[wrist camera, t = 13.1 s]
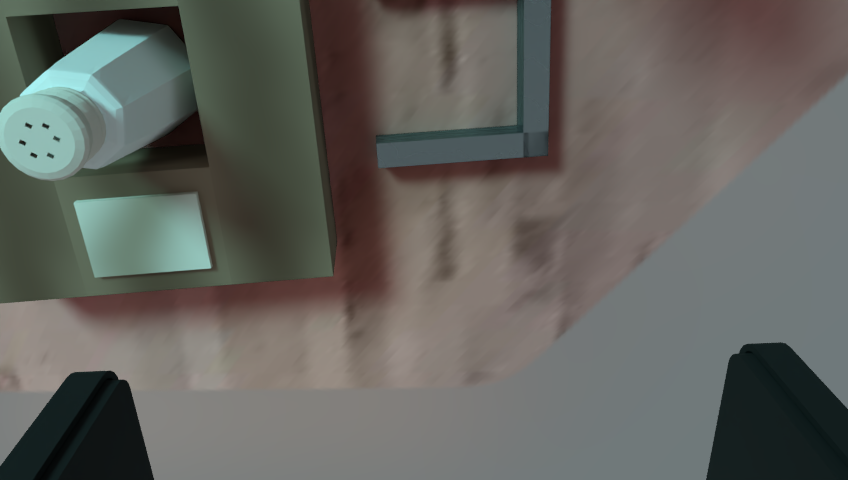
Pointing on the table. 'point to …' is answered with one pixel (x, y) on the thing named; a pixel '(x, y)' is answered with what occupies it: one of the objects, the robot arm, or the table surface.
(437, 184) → the table surface
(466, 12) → the table surface
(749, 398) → the robot arm
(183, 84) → the salt shaker
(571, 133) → the table surface
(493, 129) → the u-shaped bracket
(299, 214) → the socket block
